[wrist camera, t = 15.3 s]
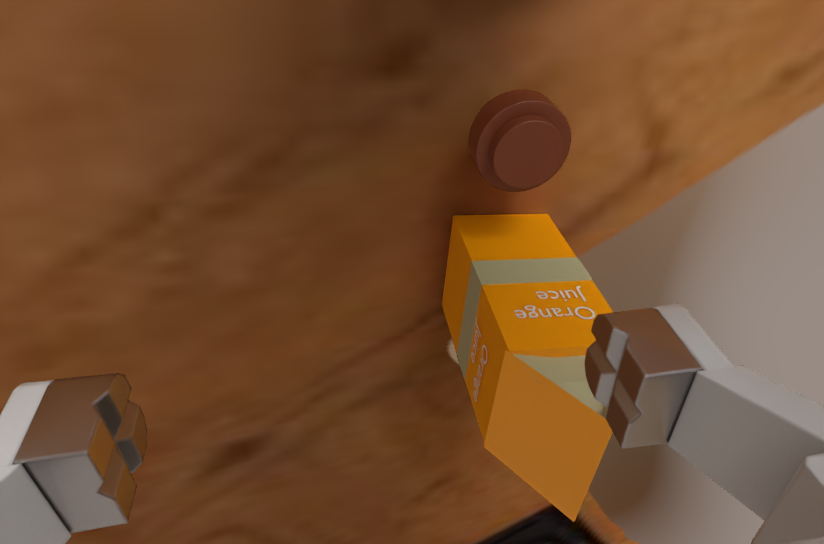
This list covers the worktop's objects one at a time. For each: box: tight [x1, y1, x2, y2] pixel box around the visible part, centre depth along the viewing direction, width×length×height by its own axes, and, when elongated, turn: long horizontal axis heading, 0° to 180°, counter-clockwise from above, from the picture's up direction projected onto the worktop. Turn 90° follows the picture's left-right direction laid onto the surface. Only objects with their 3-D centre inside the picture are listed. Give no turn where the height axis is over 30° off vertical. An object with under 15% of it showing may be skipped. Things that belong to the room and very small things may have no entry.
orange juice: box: [442, 214, 613, 522], centre depth 39 cm, size 8×9×20 cm
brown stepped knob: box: [469, 90, 571, 192], centre depth 37 cm, size 6×6×6 cm
